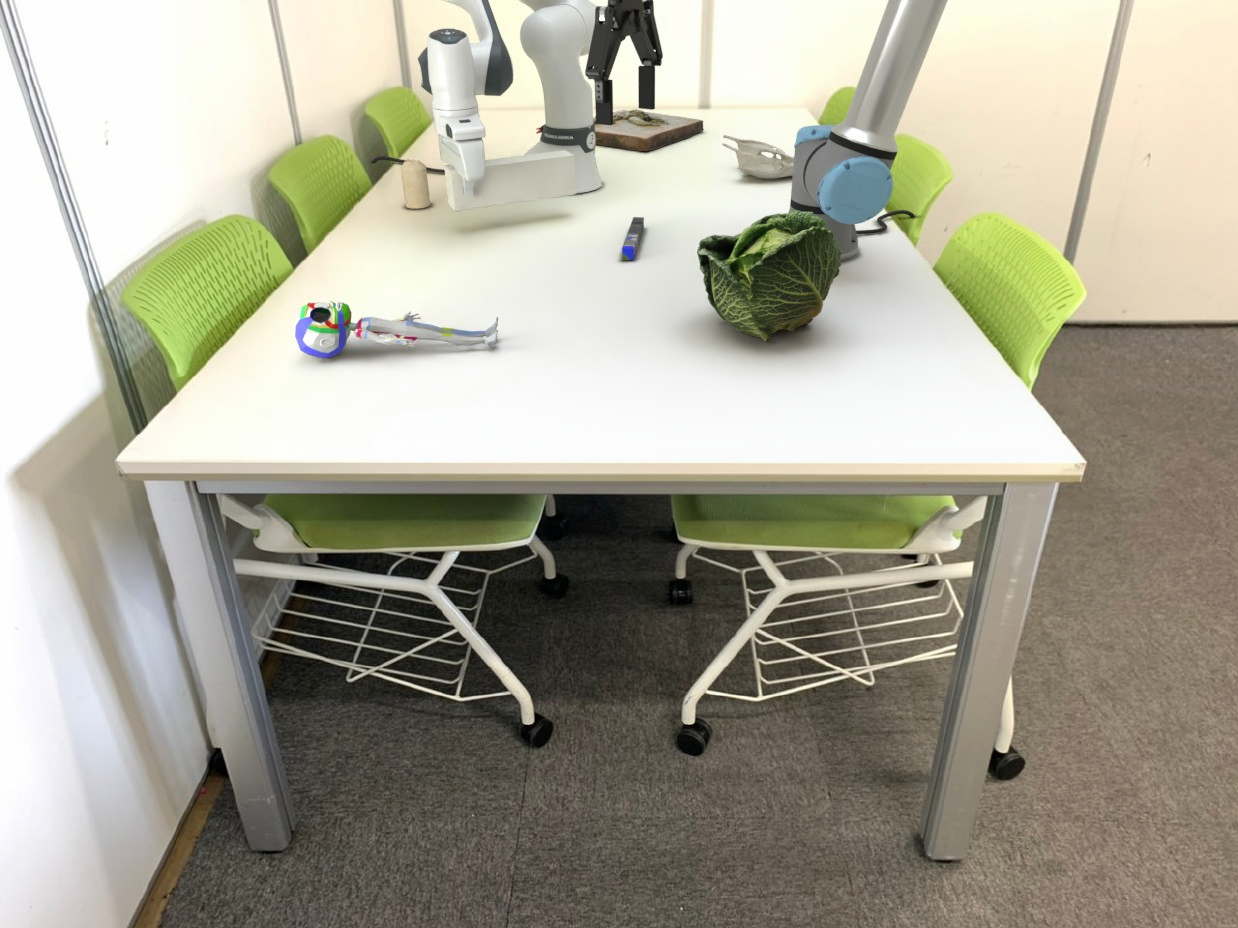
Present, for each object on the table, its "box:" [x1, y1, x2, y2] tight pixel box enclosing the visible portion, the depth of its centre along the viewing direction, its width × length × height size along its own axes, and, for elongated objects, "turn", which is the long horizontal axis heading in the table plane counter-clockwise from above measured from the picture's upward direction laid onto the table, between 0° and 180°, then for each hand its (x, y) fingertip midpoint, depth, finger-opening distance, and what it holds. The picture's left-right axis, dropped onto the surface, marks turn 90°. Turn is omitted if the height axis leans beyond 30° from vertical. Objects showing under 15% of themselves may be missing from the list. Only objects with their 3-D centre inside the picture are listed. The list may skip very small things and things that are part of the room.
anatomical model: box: [721, 134, 794, 180], centre depth 217 cm, size 15×9×25 cm
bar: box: [443, 150, 577, 212], centre depth 186 cm, size 26×5×8 cm, turn 115°
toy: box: [293, 300, 499, 359], centre depth 136 cm, size 10×8×30 cm
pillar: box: [621, 216, 645, 261], centre depth 178 cm, size 2×2×20 cm
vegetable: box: [696, 210, 842, 342], centre depth 138 cm, size 20×19×20 cm
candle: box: [399, 158, 431, 210], centre depth 200 cm, size 6×6×10 cm
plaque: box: [593, 108, 705, 152], centre depth 257 cm, size 30×7×30 cm
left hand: (464, 192), depth 183 cm, fingers closed on bar, 5 cm apart
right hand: (626, 116), depth 145 cm, fingers open, 13 cm apart
